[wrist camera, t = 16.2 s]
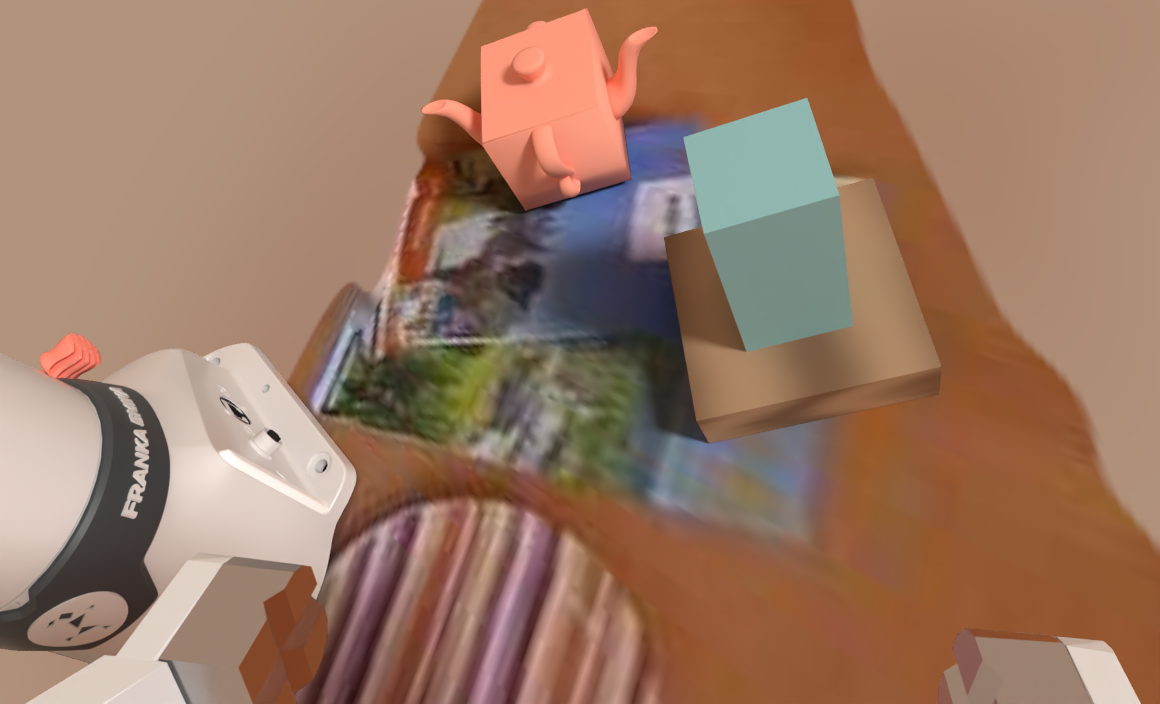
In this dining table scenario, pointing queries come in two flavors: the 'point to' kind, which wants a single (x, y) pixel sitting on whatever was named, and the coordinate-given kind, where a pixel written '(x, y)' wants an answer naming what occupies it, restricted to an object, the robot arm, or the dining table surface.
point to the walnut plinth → (813, 364)
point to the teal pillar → (773, 224)
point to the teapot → (553, 109)
